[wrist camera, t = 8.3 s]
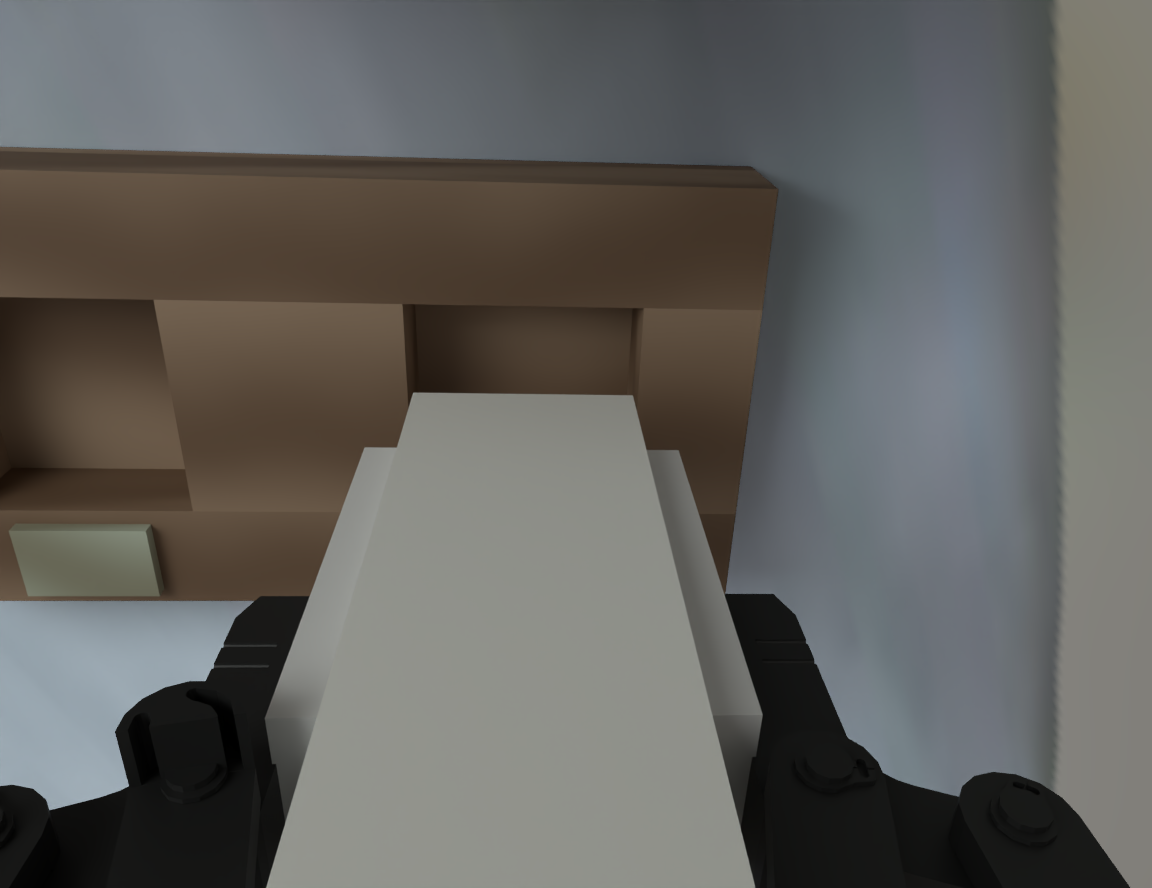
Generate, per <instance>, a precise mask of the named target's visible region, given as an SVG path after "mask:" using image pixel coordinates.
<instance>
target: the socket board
mask: <svg viewBox="0 0 1152 888" xmlns="http://www.w3.org/2000/svg"><path fill="white" fill-rule="evenodd" d="M777 196H778V188H776V187H775V186H774V185H773V184H772V183H770V182H769V181H768V180H767V179H766V178H764V177H763V176H762V175H761V174H759V173H758V172H757V171H756V170H755V169H753V168H752V167H750V166H712V165H674V164H635V163H597V162H559V161H520V160H482V159H444V158H405V157H367V156H329V155H290V154H252V153H214V152H175V151H137V150H99V149H60V148H22V147H0V601H255V600H257V599H258V598H259V597H260V596H310V594H311V592H312V589H313V586H314V583H315V581H316V578H317V575H318V573H319V570H320V567H321V564H322V562H323V559H324V556H325V554H326V551H327V548H328V545H329V543H330V540H331V537H332V535H333V532H334V529H335V526H336V524H337V521H338V518H339V516H340V513H341V510H342V507H343V505H344V502H345V499H346V497H347V494H348V491H349V488H350V486H351V483H352V480H353V478H354V475H355V472H356V469H357V467H358V464H359V461H360V459H361V456H362V453H363V450H364V448H365V447H379V448H397V445H398V442H399V439H400V435H401V432H402V429H403V425H404V422H405V419H406V415H407V412H408V408H409V405H410V402H411V398H412V395H413V393H486V394H566V395H633V398H634V402H635V406H636V410H637V414H638V418H639V422H640V426H641V430H642V434H643V438H644V442H645V446H646V450H679V454H680V457H681V460H682V463H683V466H684V469H685V472H686V476H687V479H688V482H689V485H690V488H691V491H692V494H693V498H694V501H695V504H696V507H697V510H698V513H699V516H700V520H701V523H702V526H703V529H704V532H705V535H706V538H707V542H708V545H709V548H710V551H711V554H712V557H713V560H714V564H715V567H716V570H717V573H718V576H719V579H720V582H721V586H722V589H723V592H724V594H725V591H726V583H727V576H728V568H729V561H730V553H731V545H732V538H733V530H734V523H735V515H736V507H737V500H738V492H739V485H740V477H741V469H742V462H743V454H744V447H745V439H746V431H747V424H748V416H749V409H750V401H751V393H752V386H753V378H754V371H755V363H756V355H757V348H758V340H759V333H760V325H761V317H762V310H763V302H764V295H765V287H766V279H767V272H768V264H769V257H770V249H771V241H772V234H773V226H774V219H775V211H776V203H777Z"/></svg>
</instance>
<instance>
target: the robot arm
mask: <svg viewBox="0 0 1152 888" xmlns="http://www.w3.org/2000/svg"><path fill="white" fill-rule="evenodd" d="M396 449H397V448H379V447H365V448H364V450H363V453H362V456H361V459H360V461H359V464H358V467H357V469H356V472H355V475H354V478H353V480H352V483H351V486H350V488H349V491H348V494H347V497H346V499H345V502H344V505H343V507H342V510H341V513H340V516H339V518H338V521H337V524H336V526H335V529H334V532H333V535H332V537H331V540H330V543H329V545H328V548H327V551H326V554H325V556H324V559H323V562H322V564H321V567H320V570H319V573H318V575H317V578H316V581H315V583H314V586H313V589H312V592H311V594H310V596H260V597H259V598H258V599H257V600H255V601H254V602H253V603H252V604H251V605H250V606H249V607H247V608H246V609H245V610H244V611H243V612H242V613H241V614H240V615H238V616H237V617H236V618H235V620H234V623H233V625H232V627H231V629H230V631H229V633H228V635H227V637H226V639H225V642H224V647H223V648H221V650H220V652H219V654H218V656H217V658H216V661H215V663H214V669H211V671H210V673H209V675H208V677H207V680H206V681H189V682H185V683H181V684H177V685H173V686H169V687H165V688H163V689H161V690H159V691H157V692H155V693H153V694H151V695H149V696H147V697H145V698H143V699H142V700H141V701H139V702H138V703H137V704H136V705H135V706H134V707H133V708H131V709H130V710H129V711H128V712H127V713H126V714H125V715H124V717H123V718H122V720H121V722H120V724H119V726H118V727H117V729H116V731H115V733H116V737H117V741H118V745H119V749H120V753H121V756H122V760H123V764H124V768H125V772H126V776H127V779H128V783H129V787H127V788H125V789H123V790H121V791H118V792H115V793H112V794H109V795H106V796H103V797H100V798H96V799H93V800H89V801H85V802H81V803H77V804H73V805H69V806H65V807H61V808H57V809H53V810H50V811H49V808H48V805H47V801H46V799H45V798H43V797H42V796H41V795H40V794H39V793H37V792H36V791H35V790H34V789H31V788H26V787H21V786H16V785H7V786H0V888H266V886H267V883H268V880H269V876H270V873H271V869H272V866H273V863H274V859H275V856H276V853H277V849H278V846H279V843H280V839H281V836H282V832H283V829H284V826H285V822H286V819H287V816H288V812H289V809H290V806H291V802H292V799H293V795H294V792H295V789H296V785H297V782H298V779H299V775H300V772H301V769H302V765H303V762H304V758H305V755H306V752H307V748H308V745H309V742H310V738H311V735H312V732H313V728H314V725H315V721H316V718H317V715H318V711H319V708H320V705H321V701H322V698H323V694H324V691H325V688H326V684H327V681H328V678H329V674H330V671H331V668H332V664H333V661H334V657H335V654H336V651H337V647H338V644H339V641H340V637H341V634H342V631H343V627H344V624H345V620H346V617H347V614H348V610H349V607H350V604H351V600H352V597H353V594H354V590H355V587H356V583H357V580H358V577H359V573H360V570H361V567H362V563H363V560H364V556H365V553H366V550H367V546H368V543H369V540H370V536H371V533H372V530H373V526H374V523H375V519H376V516H377V513H378V509H379V506H380V503H381V499H382V496H383V493H384V489H385V486H386V482H387V479H388V476H389V472H390V469H391V466H392V462H393V459H394V456H395V452H396ZM647 454H648V458H649V462H650V466H651V470H652V474H653V478H654V482H655V486H656V490H657V494H658V498H659V502H660V507H661V511H662V515H663V519H664V523H665V527H666V531H667V535H668V539H669V543H670V547H671V551H672V555H673V559H674V563H675V567H676V571H677V575H678V579H679V583H680V587H681V591H682V595H683V599H684V603H685V607H686V611H687V615H688V619H689V623H690V627H691V631H692V635H693V639H694V643H695V647H696V651H697V655H698V659H699V663H700V667H701V671H702V675H703V679H704V683H705V687H706V691H707V695H708V699H709V703H710V707H711V711H712V715H713V719H714V723H715V728H716V732H717V736H718V740H719V744H720V748H721V752H722V756H723V760H724V764H725V768H726V772H727V776H728V780H729V784H730V788H731V792H732V796H733V800H734V804H735V808H736V812H737V816H738V820H739V824H740V828H741V832H742V836H743V840H744V844H745V848H746V852H747V856H748V860H749V864H750V868H751V872H752V876H753V880H754V884H755V888H1130V887H1129V885H1128V884H1127V882H1126V881H1125V880H1124V878H1123V877H1122V875H1121V874H1120V873H1119V871H1118V870H1117V868H1116V867H1115V866H1114V864H1113V863H1112V861H1111V860H1110V858H1109V857H1108V856H1107V854H1106V853H1105V851H1104V850H1103V849H1102V847H1101V846H1100V844H1099V843H1098V842H1097V840H1096V839H1095V837H1094V836H1093V835H1092V833H1091V832H1090V830H1089V829H1088V828H1087V826H1086V825H1085V823H1084V822H1083V820H1082V819H1081V818H1080V816H1079V815H1078V814H1077V813H1076V812H1075V811H1074V810H1073V809H1072V808H1071V807H1070V806H1069V804H1068V803H1067V802H1066V801H1065V800H1064V799H1063V798H1062V797H1060V796H1059V795H1057V794H1056V793H1054V792H1052V791H1051V790H1049V789H1048V788H1046V787H1045V786H1043V785H1042V784H1040V783H1037V782H1035V781H1032V780H1029V779H1027V778H1024V777H1021V776H1018V775H1016V774H1007V773H997V772H991V773H986V774H982V775H977V776H974V777H973V778H972V779H970V780H969V781H968V782H967V783H966V784H965V785H964V786H962V789H961V792H960V796H959V797H957V796H953V795H949V794H945V793H941V792H937V791H933V790H929V789H925V788H921V787H917V786H913V785H910V784H907V783H904V782H901V781H898V780H895V779H894V778H892V777H890V776H888V775H886V774H884V773H883V772H882V770H881V768H880V766H879V763H878V762H877V761H876V760H875V759H874V758H873V757H872V756H871V755H870V753H869V752H868V751H867V750H866V749H865V748H864V747H862V746H860V745H859V744H857V743H855V742H853V741H852V740H850V739H848V738H847V736H846V733H845V731H844V729H843V726H842V724H841V722H840V719H839V717H838V714H837V712H836V710H835V707H834V705H833V703H832V700H831V698H830V695H829V693H828V691H827V688H826V686H825V684H824V681H823V679H822V677H821V674H820V672H819V669H818V667H817V665H816V664H814V658H813V655H812V653H811V650H810V648H809V646H808V644H806V639H805V636H804V634H803V631H802V629H801V627H800V624H799V622H798V620H797V617H796V615H795V614H794V613H793V612H792V611H791V610H790V609H789V608H787V607H786V606H785V605H784V604H783V603H782V602H781V601H780V600H779V599H778V598H777V597H776V596H775V595H774V594H724V592H723V589H722V586H721V582H720V579H719V576H718V573H717V570H716V567H715V564H714V560H713V557H712V554H711V551H710V548H709V545H708V542H707V538H706V535H705V532H704V529H703V526H702V523H701V520H700V516H699V513H698V510H697V507H696V504H695V501H694V498H693V494H692V491H691V488H690V485H689V482H688V479H687V476H686V472H685V469H684V466H683V463H682V460H681V457H680V454H679V450H647Z"/></svg>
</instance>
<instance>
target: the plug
mask: <svg viewBox="0 0 1152 888" xmlns="http://www.w3.org/2000/svg"><path fill="white" fill-rule="evenodd" d="M266 888H755V884H754V880H753V876H752V872H751V868H750V864H749V860H748V856H747V852H746V848H745V844H744V840H743V836H742V832H741V828H740V824H739V820H738V816H737V812H736V808H735V804H734V800H733V796H732V792H731V788H730V784H729V780H728V776H727V772H726V768H725V764H724V760H723V756H722V752H721V748H720V744H719V740H718V736H717V732H716V728H715V723H714V719H713V715H712V711H711V707H710V703H709V699H708V695H707V691H706V687H705V683H704V679H703V675H702V671H701V667H700V663H699V659H698V655H697V651H696V647H695V643H694V639H693V635H692V631H691V627H690V623H689V619H688V615H687V611H686V607H685V603H684V599H683V595H682V591H681V587H680V583H679V579H678V575H677V571H676V567H675V563H674V559H673V555H672V551H671V547H670V543H669V539H668V535H667V531H666V527H665V523H664V519H663V515H662V511H661V507H660V502H659V498H658V494H657V490H656V486H655V482H654V478H653V474H652V470H651V466H650V462H649V458H648V454H647V450H646V446H645V442H644V438H643V434H642V430H641V426H640V422H639V418H638V414H637V410H636V406H635V402H634V398H633V395H566V394H486V393H413V395H412V398H411V402H410V405H409V408H408V412H407V415H406V419H405V422H404V425H403V429H402V432H401V435H400V439H399V442H398V445H397V449H396V452H395V456H394V459H393V462H392V466H391V469H390V472H389V476H388V479H387V482H386V486H385V489H384V493H383V496H382V499H381V503H380V506H379V509H378V513H377V516H376V519H375V523H374V526H373V530H372V533H371V536H370V540H369V543H368V546H367V550H366V553H365V556H364V560H363V563H362V567H361V570H360V573H359V577H358V580H357V583H356V587H355V590H354V594H353V597H352V600H351V604H350V607H349V610H348V614H347V617H346V620H345V624H344V627H343V631H342V634H341V637H340V641H339V644H338V647H337V651H336V654H335V657H334V661H333V664H332V668H331V671H330V674H329V678H328V681H327V684H326V688H325V691H324V694H323V698H322V701H321V705H320V708H319V711H318V715H317V718H316V721H315V725H314V728H313V732H312V735H311V738H310V742H309V745H308V748H307V752H306V755H305V758H304V762H303V765H302V769H301V772H300V775H299V779H298V782H297V785H296V789H295V792H294V795H293V799H292V802H291V806H290V809H289V812H288V816H287V819H286V822H285V826H284V829H283V832H282V836H281V839H280V843H279V846H278V849H277V853H276V856H275V859H274V863H273V866H272V869H271V873H270V876H269V880H268V883H267V886H266Z"/></svg>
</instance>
